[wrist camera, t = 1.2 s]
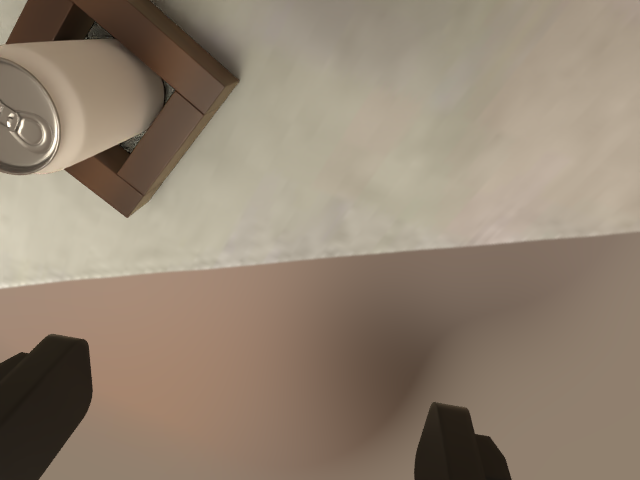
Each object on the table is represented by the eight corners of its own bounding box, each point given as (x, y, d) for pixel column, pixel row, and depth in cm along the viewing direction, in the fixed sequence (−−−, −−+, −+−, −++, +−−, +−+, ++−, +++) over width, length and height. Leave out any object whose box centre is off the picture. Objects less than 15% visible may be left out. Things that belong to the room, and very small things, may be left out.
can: (145, 151, 35) (44, 207, 25) (65, 102, 34) (-77, 137, 24) (182, 73, 33) (87, 97, 22) (96, 18, 32) (-47, 14, 21)
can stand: (12, 94, 35) (-25, 101, 32) (91, -52, 30) (58, -61, 27) (148, 201, 37) (127, 218, 34) (239, 80, 33) (225, 86, 29)
